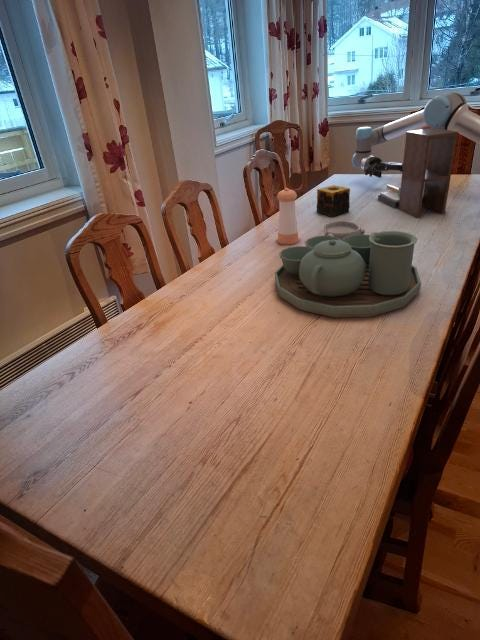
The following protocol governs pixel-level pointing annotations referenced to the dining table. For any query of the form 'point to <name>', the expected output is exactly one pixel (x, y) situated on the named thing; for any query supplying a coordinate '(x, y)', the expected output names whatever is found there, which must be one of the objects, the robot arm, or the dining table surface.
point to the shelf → (433, 176)
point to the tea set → (350, 274)
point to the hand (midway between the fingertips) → (394, 172)
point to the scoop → (394, 189)
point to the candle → (333, 200)
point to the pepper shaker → (287, 217)
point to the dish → (342, 229)
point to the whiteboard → (390, 198)
